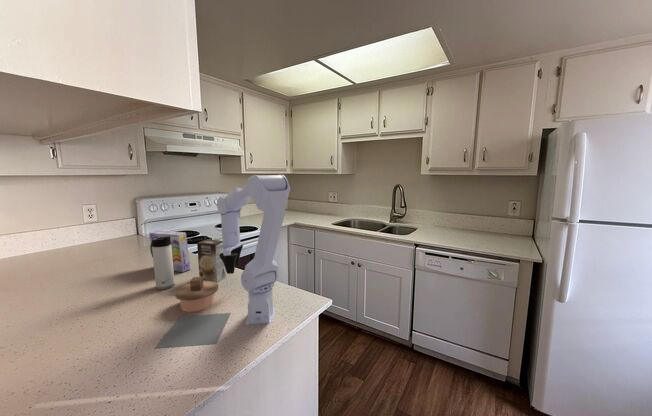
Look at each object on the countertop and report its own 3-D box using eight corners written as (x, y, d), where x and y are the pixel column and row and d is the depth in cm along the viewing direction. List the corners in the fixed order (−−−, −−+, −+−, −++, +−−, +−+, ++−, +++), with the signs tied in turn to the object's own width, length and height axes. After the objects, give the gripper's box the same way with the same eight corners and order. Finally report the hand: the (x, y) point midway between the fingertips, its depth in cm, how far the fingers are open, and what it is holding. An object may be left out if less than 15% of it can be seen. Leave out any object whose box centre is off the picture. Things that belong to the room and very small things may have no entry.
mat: (216, 345, 67) (216, 343, 67) (154, 350, 66) (154, 348, 66) (231, 314, 82) (231, 312, 82) (180, 317, 81) (180, 316, 81)
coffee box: (198, 280, 109) (195, 242, 107) (209, 274, 115) (206, 238, 113) (217, 282, 106) (214, 244, 104) (227, 276, 113) (225, 240, 110)
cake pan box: (151, 268, 123) (147, 231, 121) (161, 264, 128) (157, 229, 125) (181, 273, 116) (178, 234, 114) (191, 269, 121) (188, 232, 119)
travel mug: (166, 290, 99) (162, 239, 97) (152, 289, 101) (146, 238, 98) (179, 283, 105) (175, 235, 103) (165, 282, 107) (160, 234, 104)
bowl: (208, 312, 84) (207, 297, 83) (175, 314, 83) (174, 299, 82) (217, 297, 94) (217, 284, 93) (188, 299, 93) (187, 285, 92)
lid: (211, 299, 82) (210, 286, 81) (167, 301, 80) (166, 288, 80) (223, 282, 95) (222, 270, 94) (185, 283, 93) (184, 272, 93)
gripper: (224, 227, 97) (226, 262, 99) (212, 236, 83) (215, 277, 85) (243, 226, 98) (245, 261, 100) (235, 236, 84) (237, 276, 86)
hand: (233, 269), depth 92 cm, fingers open, 7 cm apart
